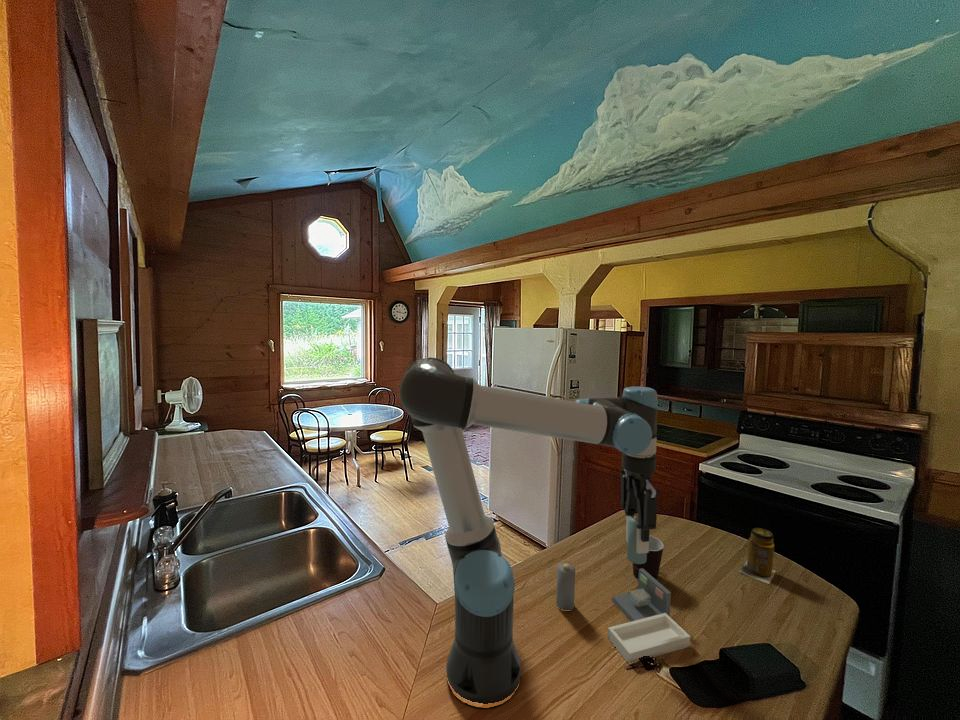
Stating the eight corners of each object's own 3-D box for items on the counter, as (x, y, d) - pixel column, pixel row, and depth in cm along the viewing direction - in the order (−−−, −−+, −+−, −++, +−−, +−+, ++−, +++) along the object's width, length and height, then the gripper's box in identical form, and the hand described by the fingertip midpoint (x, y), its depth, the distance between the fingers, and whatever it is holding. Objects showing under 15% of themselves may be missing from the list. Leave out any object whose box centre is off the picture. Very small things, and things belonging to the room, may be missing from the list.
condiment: (776, 571, 119) (779, 532, 118) (769, 584, 113) (772, 543, 112) (746, 560, 124) (750, 523, 123) (738, 572, 118) (741, 533, 117)
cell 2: (650, 563, 98) (651, 519, 97) (632, 565, 97) (633, 521, 96) (640, 552, 102) (641, 511, 101) (623, 554, 102) (624, 512, 100)
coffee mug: (657, 589, 110) (659, 554, 109) (624, 577, 116) (626, 543, 115) (667, 568, 120) (669, 536, 119) (637, 558, 125) (639, 526, 124)
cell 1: (561, 613, 101) (562, 572, 100) (553, 601, 106) (554, 561, 104) (577, 609, 103) (578, 569, 102) (568, 598, 107) (569, 559, 106)
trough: (629, 664, 87) (629, 653, 86) (607, 637, 94) (607, 627, 94) (689, 646, 91) (690, 636, 91) (664, 622, 99) (665, 612, 98)
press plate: (638, 607, 100) (638, 599, 100) (630, 598, 103) (630, 591, 103) (650, 604, 101) (651, 596, 101) (641, 595, 104) (642, 588, 104)
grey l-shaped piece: (638, 628, 97) (639, 600, 96) (612, 600, 106) (613, 574, 105) (669, 620, 99) (671, 592, 98) (641, 593, 109) (642, 568, 108)
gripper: (676, 464, 89) (673, 566, 91) (634, 440, 106) (633, 527, 108) (643, 467, 88) (641, 569, 90) (607, 442, 105) (606, 529, 107)
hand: (636, 546), depth 99 cm, fingers closed on cell 2, 4 cm apart
